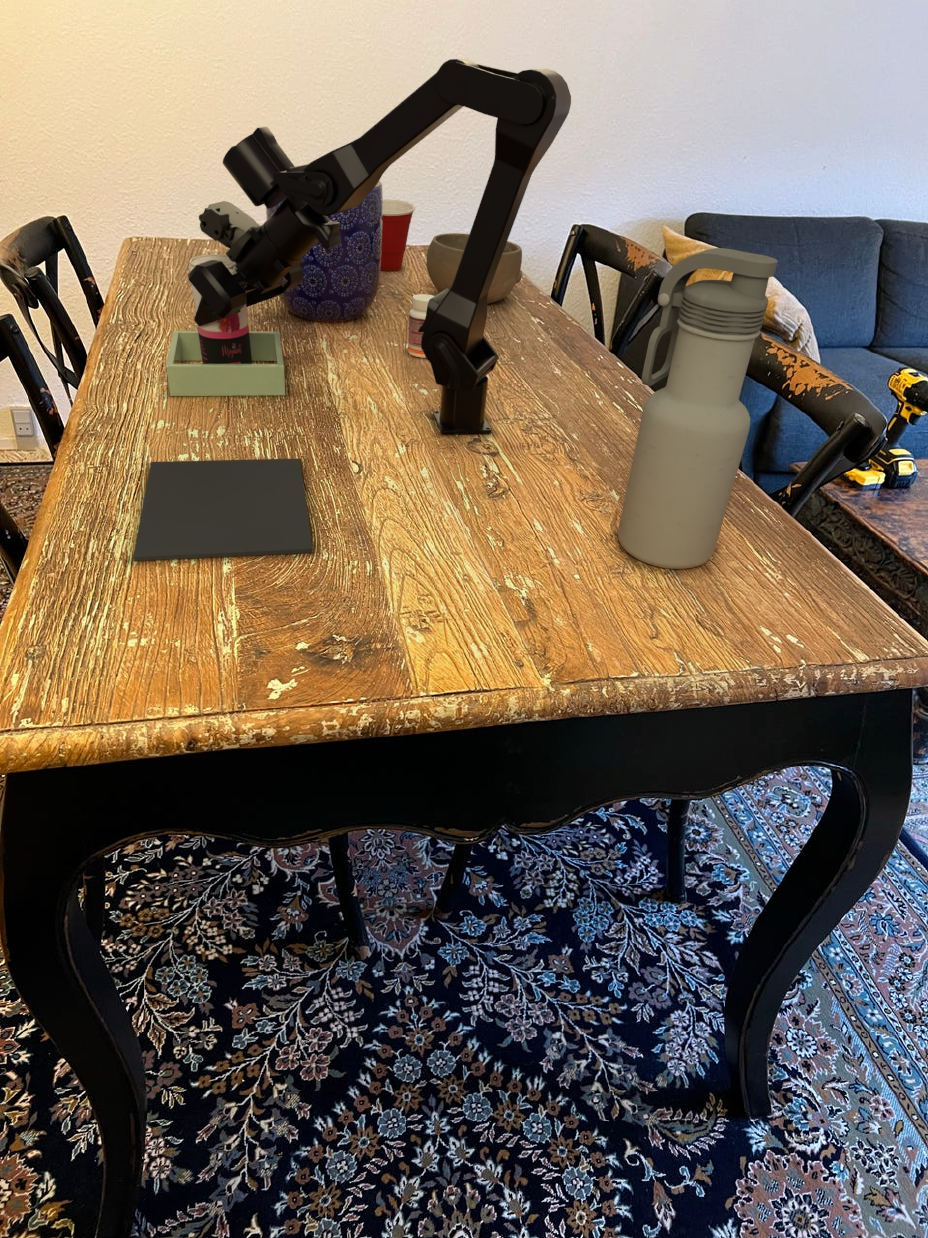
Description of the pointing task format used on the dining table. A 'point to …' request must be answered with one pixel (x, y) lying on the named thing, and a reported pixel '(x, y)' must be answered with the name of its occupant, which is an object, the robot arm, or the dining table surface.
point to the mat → (223, 510)
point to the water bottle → (694, 410)
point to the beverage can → (223, 327)
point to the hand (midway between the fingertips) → (213, 315)
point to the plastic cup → (394, 232)
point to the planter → (341, 267)
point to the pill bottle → (417, 323)
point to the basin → (225, 368)
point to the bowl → (448, 255)
